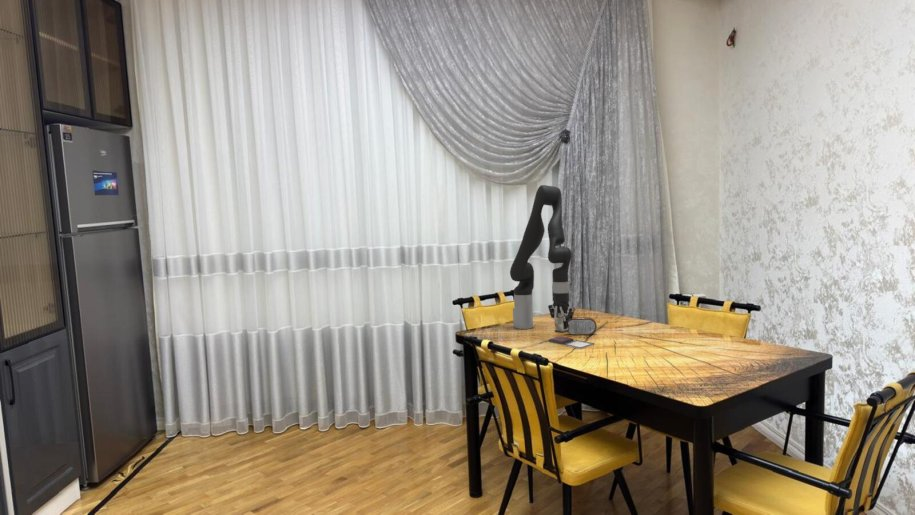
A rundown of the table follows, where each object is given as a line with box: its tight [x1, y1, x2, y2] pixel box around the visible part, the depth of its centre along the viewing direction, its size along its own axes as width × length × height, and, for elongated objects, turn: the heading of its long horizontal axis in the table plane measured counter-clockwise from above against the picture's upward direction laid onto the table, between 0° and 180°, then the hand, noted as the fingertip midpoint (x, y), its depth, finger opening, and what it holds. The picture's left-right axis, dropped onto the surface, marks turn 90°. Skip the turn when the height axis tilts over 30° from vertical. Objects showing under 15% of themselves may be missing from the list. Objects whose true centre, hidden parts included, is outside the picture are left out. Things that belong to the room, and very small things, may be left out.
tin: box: [567, 316, 597, 336], centre depth 289 cm, size 15×3×8 cm, turn 84°
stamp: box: [554, 313, 569, 334], centre depth 277 cm, size 5×5×9 cm
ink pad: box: [548, 335, 575, 345], centre depth 278 cm, size 8×8×1 cm
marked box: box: [562, 339, 596, 350], centre depth 270 cm, size 10×10×1 cm
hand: (561, 327), depth 277 cm, fingers closed on stamp, 4 cm apart
